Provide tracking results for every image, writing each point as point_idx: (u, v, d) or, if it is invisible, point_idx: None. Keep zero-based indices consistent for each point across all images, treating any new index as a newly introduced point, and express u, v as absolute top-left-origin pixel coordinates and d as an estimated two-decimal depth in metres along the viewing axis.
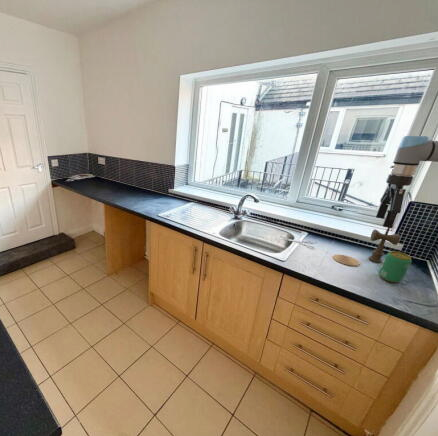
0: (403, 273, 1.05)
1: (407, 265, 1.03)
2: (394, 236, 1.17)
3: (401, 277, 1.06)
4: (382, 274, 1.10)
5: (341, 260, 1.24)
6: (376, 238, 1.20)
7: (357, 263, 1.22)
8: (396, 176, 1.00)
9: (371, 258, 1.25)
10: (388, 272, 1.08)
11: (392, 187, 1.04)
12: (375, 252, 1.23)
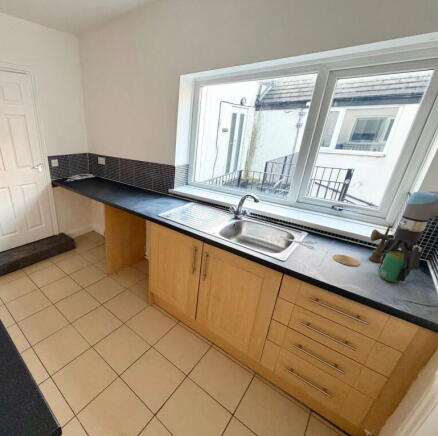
0: None
1: None
2: None
3: None
4: (382, 274, 1.10)
5: (341, 260, 1.24)
6: (376, 238, 1.20)
7: (357, 263, 1.22)
8: (412, 232, 0.99)
9: (371, 258, 1.25)
10: (388, 272, 1.08)
11: (402, 238, 1.04)
12: (375, 252, 1.23)
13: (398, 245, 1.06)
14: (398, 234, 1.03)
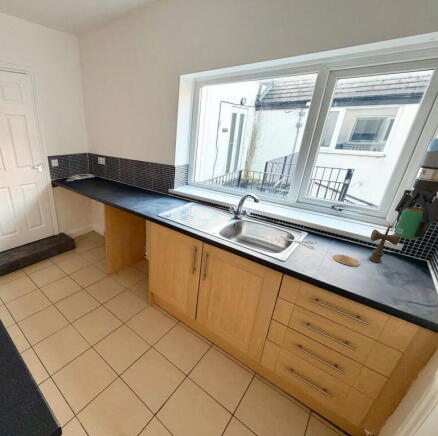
0: None
1: None
2: (394, 236, 1.17)
3: None
4: (398, 232, 1.03)
5: (341, 260, 1.24)
6: (376, 238, 1.20)
7: (357, 263, 1.22)
8: (432, 182, 0.93)
9: (371, 258, 1.25)
10: (405, 229, 1.01)
11: (420, 191, 0.98)
12: (375, 252, 1.23)
13: (416, 199, 0.99)
14: (416, 186, 0.97)
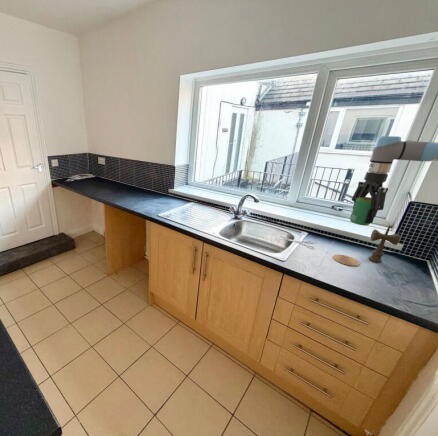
0: None
1: None
2: (394, 236, 1.17)
3: None
4: (352, 219, 1.17)
5: (341, 260, 1.24)
6: (376, 238, 1.20)
7: (357, 263, 1.22)
8: (378, 174, 1.06)
9: (371, 258, 1.25)
10: (357, 216, 1.15)
11: (369, 182, 1.11)
12: (375, 252, 1.23)
13: (367, 190, 1.13)
14: (366, 178, 1.10)
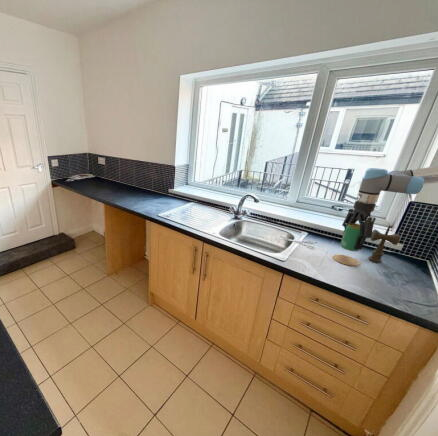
0: None
1: None
2: (394, 236, 1.17)
3: None
4: (343, 244, 1.22)
5: (341, 260, 1.24)
6: (376, 238, 1.20)
7: (357, 263, 1.22)
8: (366, 204, 1.12)
9: (371, 258, 1.25)
10: (347, 242, 1.20)
11: (359, 211, 1.17)
12: (375, 252, 1.23)
13: (356, 217, 1.18)
14: (355, 207, 1.16)
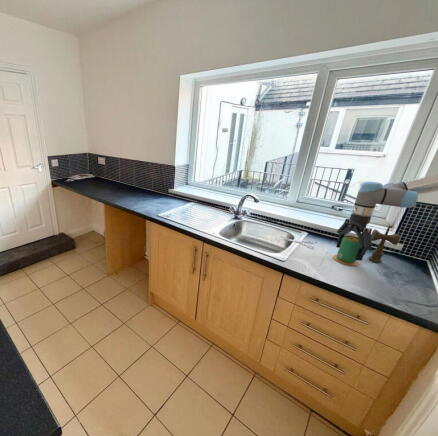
0: (356, 254, 1.20)
1: (358, 247, 1.18)
2: (394, 236, 1.17)
3: (354, 258, 1.21)
4: (339, 256, 1.24)
5: None
6: (376, 238, 1.20)
7: (357, 263, 1.22)
8: (361, 217, 1.14)
9: (371, 258, 1.25)
10: (343, 254, 1.22)
11: (354, 224, 1.19)
12: (375, 252, 1.23)
13: (352, 229, 1.20)
14: (351, 219, 1.18)
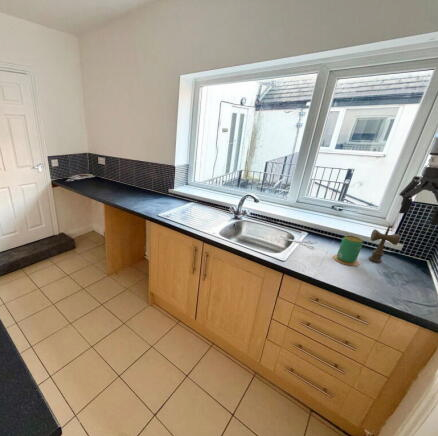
0: (356, 254, 1.20)
1: (358, 247, 1.18)
2: (394, 236, 1.17)
3: (354, 258, 1.21)
4: (339, 256, 1.24)
5: None
6: (376, 238, 1.20)
7: (357, 263, 1.22)
8: None
9: (371, 258, 1.25)
10: (343, 254, 1.22)
11: (428, 181, 0.96)
12: (375, 252, 1.23)
13: (424, 187, 0.97)
14: (425, 174, 0.95)
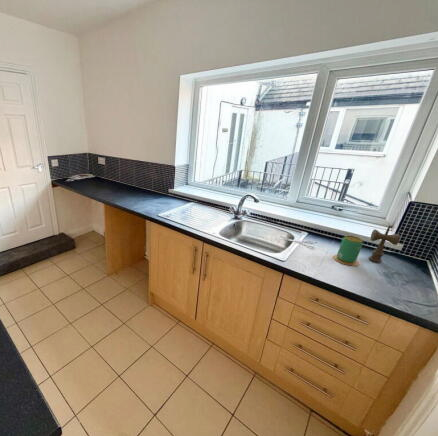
0: (356, 254, 1.20)
1: (358, 247, 1.18)
2: (394, 236, 1.17)
3: (354, 258, 1.21)
4: (339, 256, 1.24)
5: None
6: (376, 238, 1.20)
7: (357, 263, 1.22)
8: None
9: (371, 258, 1.25)
10: (343, 254, 1.22)
11: None
12: (375, 252, 1.23)
13: None
14: None
